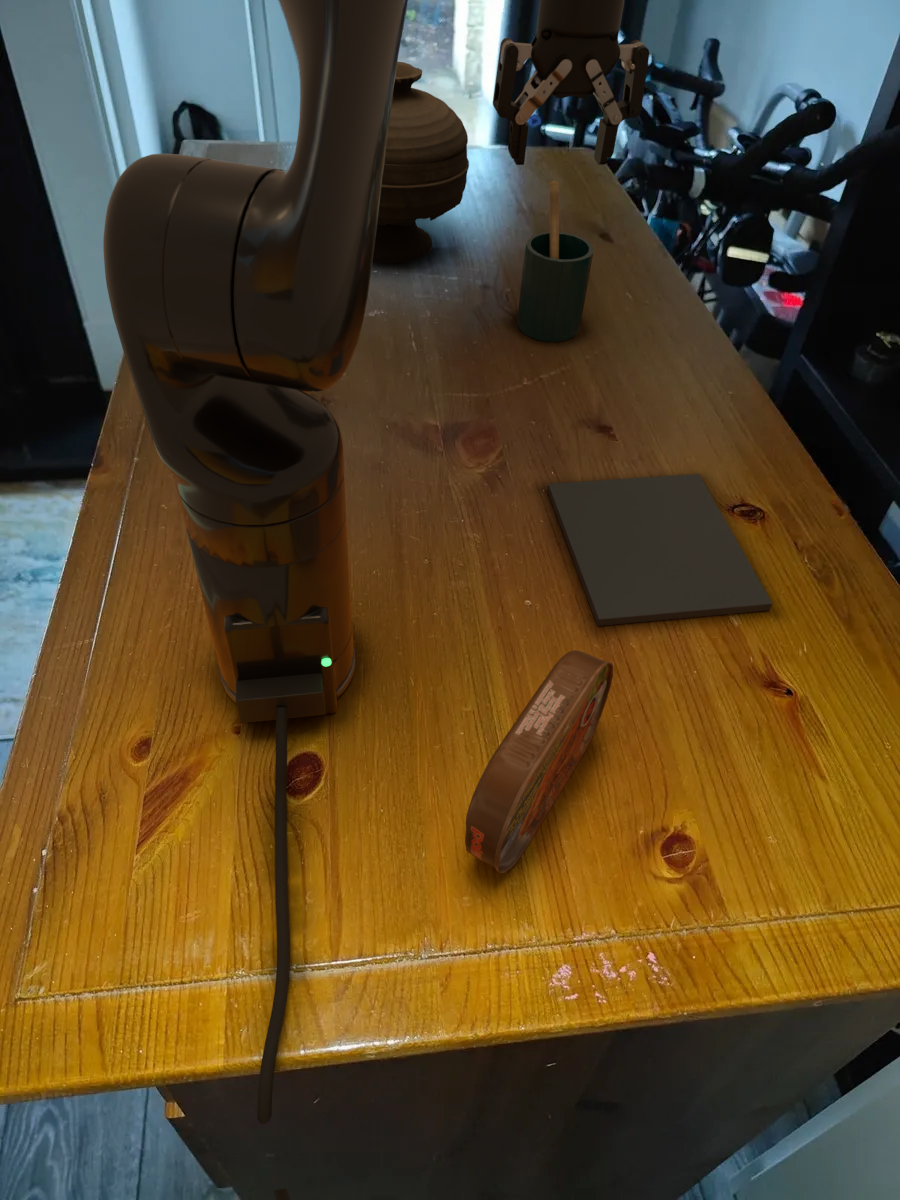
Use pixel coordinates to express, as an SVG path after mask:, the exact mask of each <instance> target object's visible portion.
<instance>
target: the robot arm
mask: <svg viewBox="0 0 900 1200" xmlns="http://www.w3.org/2000/svg"><path fill="white" fill-rule="evenodd" d="M277 1H278V5H279V7H280V10H281V12H282V15H283V19H284V21H285V24H286V28H287V32H288V35H289V38H290V42H291V45H292V49H293V53H294V56H295V60H296V65H297V71H298V72H297V73H298V79H299V118H298V128H297V129H298V130H297V139H296V143H295V151H294V154H293V158H292V160H291V163H290V165H289V167H288V168H287V170H286V169H281V168H280V169H279V168H274V167H267V166H261V165H254V164H248V163H242V162H234V161H227V160H220V159H215V158H208V157H203V156H202V157H201V156H194V155H188V154H187V155H186V154H177V153H176V154H175V153H152V154H149V155H145V156H142V157H140V158H138V159H136V160H135V161H133V162H132V163H131V164H129V166H128V167H126V168H125V170H123V172H122V173H121V174H120V176H119V177H118V179H117V181H116V183H115V185H114V187H113V190H112V192H111V195H110V197H109V200H108V202H107V203H108V204H107V208H106V212H105V213H106V214H105V219H104V228H103V263H104V274H105V282H106V289H107V294H108V298H109V303H110V308H111V312H112V317H113V320H114V324H115V328H116V330H117V334H118V338H119V341H120V344H121V348H122V351H123V354H124V358H125V360H126V363H127V366H128V369H129V372H130V375H131V378H132V382H133V384H134V387H135V390H136V393H137V396H138V399H139V402H140V405H141V408H142V412H143V415H144V418H145V421H146V425H147V428H148V431H149V435H150V438H151V441H152V444H153V446H154V449H155V451H156V453H157V455H158V457H159V458H160V460H161V461H162V463H163V464H164V466H165V467H166V469H168V470H169V472H171V474H172V475H173V479H174V483H175V486H176V491H177V496H178V499H179V503H180V508H181V512H182V516H183V520H184V525H185V530H186V533H187V534H186V535H187V538H188V543H189V546H190V551H191V555H192V559H193V563H194V567H195V572H196V575H197V580H198V585H199V588H200V593H201V597H202V601H203V605H204V609H205V614H206V617H207V622H208V627H209V630H210V634H211V639H212V643H213V647H214V651H215V654H216V659H217V662H218V673H219V678H220V681H221V685H222V687H223V689H224V691H225V693H226V695H227V696H228V697H229V698H230V700H232V701H233V703H235V704H236V705H235V706H236V709H237V714H238V718H239V719H238V720H239V722H240V724H246V723H255V722H266V721H275V772H274V773H275V775H274V778H275V779H274V898H275V899H274V901H275V921H276V922H275V924H276V971H275V972H276V973H275V984H274V992H273V993H274V994H273V999H272V1000H273V1001H272V1006H271V1013H270V1018H269V1023H268V1027H267V1032H266V1037H265V1041H264V1045H263V1052H262V1057H261V1063H260V1068H259V1069H260V1070H259V1076H258V1077H259V1078H258V1089H257V1120H258V1122H259V1124H262V1125H266V1124H267V1123H269V1122H270V1120H271V1118H272V1115H273V1114H272V1113H273V1112H272V1111H273V1110H272V1109H273V1091H274V1090H273V1088H274V1077H275V1068H276V1061H277V1055H278V1050H279V1045H280V1040H281V1034H282V1030H283V1025H284V1019H285V1015H286V1008H287V1002H288V993H289V984H290V968H291V966H290V965H291V933H290V912H289V911H290V910H289V894H288V887H289V886H288V839H287V838H288V837H287V836H288V835H287V830H288V829H287V826H288V825H287V790H288V788H287V787H288V786H287V785H288V783H287V782H288V778H287V777H288V719H294V718H304V717H305V718H306V717H313V716H324V715H326V714H329V715H330V714H334V713H336V712H337V711H338V705H337V704H338V703H337V702H338V698H339V697H340V696H342V694H343V693H344V692H345V690H346V689H347V688H348V687H349V685H350V683H351V682H352V679H353V677H354V674H355V670H356V650H355V646H354V634H353V619H352V601H351V600H352V599H351V580H350V562H349V560H350V559H349V543H348V542H349V541H348V525H347V523H348V522H347V521H348V520H347V497H346V496H347V495H346V481H345V480H346V475H345V458H344V457H345V456H344V444H343V443H344V442H343V437H342V433H341V429H340V427H339V425H338V421H336V419H335V417H334V415H333V414H332V412H331V411H330V410H329V409H328V408H327V407H326V406H325V405H324V404H323V403H322V402H320V401H319V400H318V399H316V398H315V397H313V395H310V393H309V394H307V393H306V392H304V391H309V392H314V393H315V392H317V393H319V392H324V391H326V390H328V389H330V388H332V387H333V386H334V385H336V384H337V383H338V382H339V381H340V380H341V379H342V377H343V376H344V375H345V373H346V371H347V370H348V367H349V365H350V363H351V361H352V360H353V356H354V354H355V352H356V348H357V345H358V343H359V339H360V335H361V332H362V327H363V323H364V318H365V314H366V308H367V304H368V303H367V302H368V299H369V298H368V297H369V291H370V283H371V276H372V268H373V263H374V262H373V261H374V260H373V255H374V247H375V239H376V230H377V221H378V213H379V204H380V196H381V188H382V179H383V171H384V162H385V154H386V146H387V137H388V129H389V121H390V113H391V105H392V97H393V89H394V82H395V75H396V68H397V62H399V55H400V49H401V42H402V36H403V31H404V26H405V22H406V18H407V17H406V16H407V12H408V6H409V1H410V0H277ZM624 6H625V0H539V1H538V10H537V11H538V12H537V21H536V30H535V34H534V36H533V39H532V41H531V42H530V43H525V42H514V41H513V40H512V39H511V38H510V37H504V38H503V39H502V40H501V42H500V45H499V52H498V60H497V68H496V74H495V83H494V90H493V97H492V106H493V108H494V109H495V111H496V113H497V115H498V116H499V117H500V118H503V119H504V118H505V119H507V120H509V131H508V142H507V143H508V144H507V150H508V153H509V155H510V158H511V160H513V161H514V163H515V165H516V166H524V165H525V160H526V153H527V142H528V133H529V124H528V123H527V122H528V121H529V119H530V118H531V117H532V116H533V114H534V113H535V112H536V110H537V109H538V108H541V107H542V106H543V105H544V104H545V102H546V101H547V100H548V98H549V97H550V96H551V95H552V96H554V98H555V99H565V98H568V97H574V98H577V99H588V96H591V95H592V94H593V96H594V97H595V99H596V101H597V103H598V106H599V107H600V109H601V111H602V113H603V117H601V118H599V122H598V129H597V134H596V141H595V146H594V152H593V158H594V161H595V162H596V164H597V165H599V166H600V165H607V162H608V159H611V158H612V157H613V155H614V152H615V147H616V141H617V136H618V131H619V126H620V124H621V123H622V122H623V121H624V120H627V119H629V118H632V119H637V118H638V117H640V115H641V113H642V109H643V108H642V107H643V101H644V94H645V87H646V79H647V73H648V65H649V59H650V50H649V48H648V47H647V46H646V45H645V44H644V43H642V42H641V41H640V40H638V39H633V40H632V41H631V42H630V43H625V44H619V33H620V31H621V23H622V17H623V11H624ZM528 59H530V61H531V63H532V65H533V67H534V69H535V71H534V73H533V74H532V75H531V77H530V78H529V79H528V81H527V82H526V83H525V84H524V87H523V89H522V91H521V93H520V94H519V95H518V97H517V98H516V99H515V101H512V99H513V96H514V95H513V94H514V89H515V88H514V86H515V80H516V73H517V72H519V71H521V70H522V68H523V67H524V64H525V62H526V61H527V60H528ZM619 60H620V61H621V67H622V68H623V69H624V70H625V74H624V75H625V76H624V82H623V83H624V84H623V91H622V98H621V99H622V100H620V101H618V102H617V101H616V98H615V95H614V94H613V92H612V90H611V87H610V85H609V83H608V81H607V79H606V78H607V77H608V75H609V74H610V73H611V71H613V69H614V68H615V66H616V65H617V63H618V62H619ZM272 1192H273V1196H274V1198H275V1200H291V1198H290V1195H289V1194H290V1193H289V1191H288V1188H287V1187H286V1188H280V1189H276V1190H272Z"/></svg>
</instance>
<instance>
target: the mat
mask: <svg viewBox="0 0 900 1200" xmlns="http://www.w3.org/2000/svg"><path fill="white" fill-rule="evenodd" d="M546 492H547V494H548V496H549V500H550V502H551V505H552V508H553V510H554V513H555V516H556V518H557V521H558V523H559V527H560V529H561V532H562V535H563V537H564V540H565V542H566V546H567V548H568V551H569V553H570V556H571V558H572V559H571V560H572V562H573V564H574V567H575V570H576V572H577V575H578V577H579V581H580V584H581V586H582V589H583V592H584V594H585V597H586V600H587V602H588V605H589V607H590V610H591V612H592V615H593V619H594V621H595V623H596V626H597V627H603V626H612V625H624V624H625V625H626V624H634V623H647V622H656V621H657V622H658V621H668V620H669V621H670V620H677V619H679V620H680V619H689V618H690V619H691V618H702V617H711V616H722V615H733V614H744V613H745V614H746V613H754V612H755V613H756V612H767V611H770V610H771V609H772V606H773V600H772V599H771V598H770V596H769V594H768V593H767V590H766V589H765V587H764V585H763V584H762V582H761V580H760V578H759V576H758V575H757V573H756V571H755V570H754V567H753V566H752V564H751V563H750V561H749V559H748V558H747V556H746V554H745V551H744V550H743V549H742V547H741V545H740V543H739V542H738V540H737V538H736V536H735V534H734V533H733V531H732V529H731V528H730V526H729V524H728V522H727V521H726V519H725V517H724V515H723V514H722V512H721V510H720V508H719V507H718V505H717V503H716V501H715V500H714V497H713V496H712V494H711V492H710V491H709V488H708V487H707V486H706V483H705V482H704V480H703V479H702V476H701V475H700V473H696V474H695V473H693V474H691V473H689V474H676V475H663V476H661V475H660V476H659V475H658V476H646V477H629V478H614V479H601V480H584V481H583V480H582V481H569V482H553V483H552V482H551V483H548V484H547V489H546Z"/></svg>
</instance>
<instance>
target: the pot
mask: <svg viewBox="0 0 900 1200" xmlns="http://www.w3.org/2000/svg"><path fill="white" fill-rule="evenodd" d="M422 75H423V69H420V68H419V67H415V66H414V65H412V64H410V63H407V62H404V61H397V68H396V75H395V82H394V89H393V97H392V105H391V113H390V121H389V129H388V137H387V146H386V154H385V162H384V171H383V179H382V188H381V196H380V204H379V213H378V221H377V230H376V239H375V247H374V255H373V261H374V262H377V263H384V264H403V263H410V262H413V261H418V260H420V259H422V258H424V257H426V256H427V255H429V254H430V253H431V251H432V250H433V240H432V237H431V235H430V234H429V233H428V232H427V231H426V230H424V229H423V228H422V227H419V226H418V225H417V220H427V219H429V220H430V222H432V221H434V220H436V219H438V218H439V217H441V216H443V215H445V214H446V213H447V212H449V211H451V210H453V209H454V208H456V207H457V206H459V205H461V202H462V200H463V196H464V191H465V190H466V187H467V186H466V185H467V176H468V172H469V168H470V161H469V159H468V144H469V138H468V131H467V129H466V127H465V126H464V123H463V121H462V119H461V118H460V117H459V116H458V114H457V113H456V112H455V111H454V110H453V108H452V107H450V106H449V105H448V104H447V103H446V102H445V101H444V100H442V99H441V98H439V97H437V96H435V95H433V94H432V93H429V92H427V91H425V90H421V89H418V88H413V87H412V85H413V84H414V83H416V82H418V81H419V80H420V79H421V78H422Z"/></svg>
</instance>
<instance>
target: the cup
mask: <svg viewBox="0 0 900 1200" xmlns="http://www.w3.org/2000/svg"><path fill="white" fill-rule="evenodd" d="M594 249H595V248H594V246H593V244H592V243H591V242H590V241H588V240H587V239H586V238H584V237H582V236H579V235H577V234H574V233H570V232H566V231H559V259H554V258H550V239H549V231H543V232H537V233H535V234H533V235H530V236H529V237H528V239H526V242H525V248H524V257H523V266H522V275H521V283H520V291H519V299H518V300H519V302H518V307H517V316H516V325H517V328H518V329H519V331H520V332H521V333H522V334H524V335H525V336H527V337H529V338H531V339H533V340H537V341H541V342H547V343H560V342H566V341H569V340H571V339H573V338H575V337H576V336H577V335H578V334H579V332H580V329H581V325H582V319H583V313H584V307H585V302H586V296H587V290H588V285H589V279H590V273H591V268H592V262H593V256H594Z"/></svg>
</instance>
